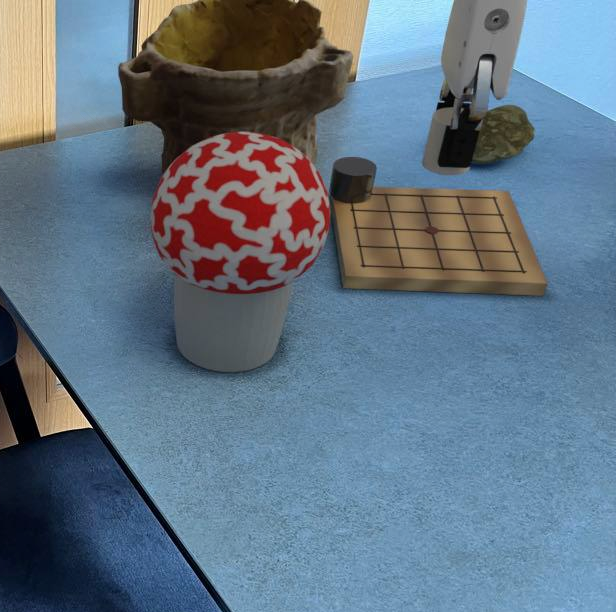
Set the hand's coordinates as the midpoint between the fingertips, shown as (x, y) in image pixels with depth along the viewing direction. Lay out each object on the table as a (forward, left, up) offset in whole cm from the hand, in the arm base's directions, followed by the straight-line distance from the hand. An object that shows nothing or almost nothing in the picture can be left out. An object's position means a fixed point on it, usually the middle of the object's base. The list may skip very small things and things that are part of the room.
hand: (449, 152), depth 105 cm
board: (0, 0, -10) cm, 10 cm away
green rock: (-10, -24, -10) cm, 28 cm away
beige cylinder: (0, 0, -1) cm, 1 cm away
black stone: (+8, -8, -9) cm, 14 cm away
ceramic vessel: (+23, -9, -10) cm, 27 cm away
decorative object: (+22, +21, -10) cm, 32 cm away
